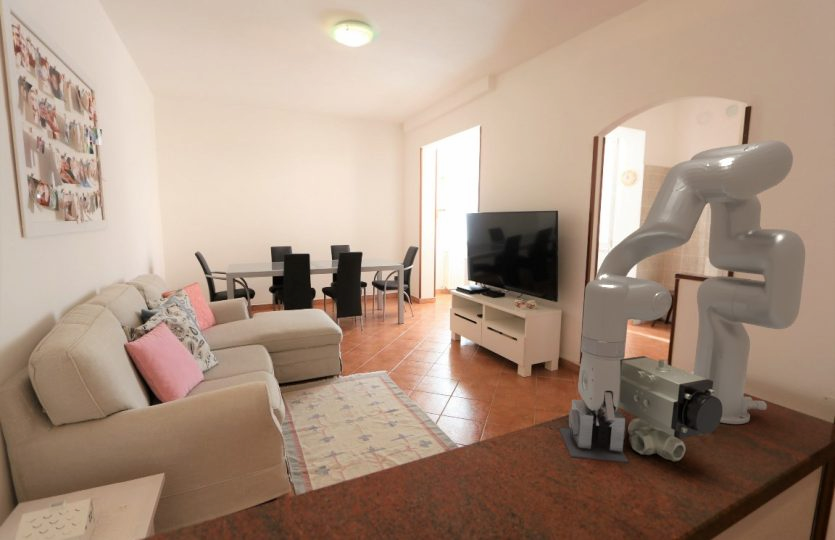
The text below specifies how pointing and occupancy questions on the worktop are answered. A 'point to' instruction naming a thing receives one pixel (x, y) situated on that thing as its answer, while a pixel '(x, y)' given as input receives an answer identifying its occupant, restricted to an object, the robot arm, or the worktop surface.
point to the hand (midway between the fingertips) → (595, 435)
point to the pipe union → (583, 423)
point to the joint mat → (591, 450)
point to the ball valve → (666, 406)
